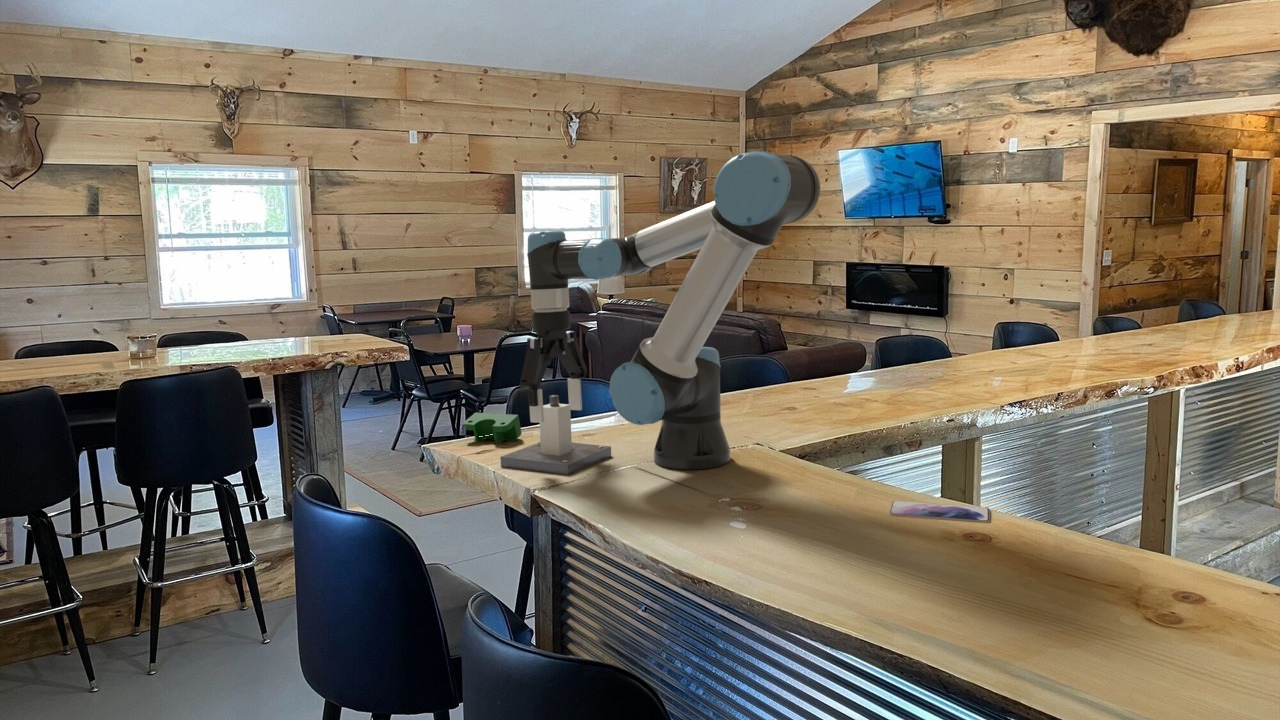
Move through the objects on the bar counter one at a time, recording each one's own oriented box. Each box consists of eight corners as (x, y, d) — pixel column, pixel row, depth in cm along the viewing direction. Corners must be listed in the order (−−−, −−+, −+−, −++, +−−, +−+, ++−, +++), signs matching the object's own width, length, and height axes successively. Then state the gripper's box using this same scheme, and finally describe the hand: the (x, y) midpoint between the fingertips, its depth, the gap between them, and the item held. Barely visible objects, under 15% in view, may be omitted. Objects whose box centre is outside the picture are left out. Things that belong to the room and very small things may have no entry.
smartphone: (990, 521, 141) (888, 513, 146) (990, 526, 141) (888, 518, 146) (989, 506, 147) (892, 500, 152) (989, 511, 147) (892, 504, 152)
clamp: (476, 460, 208) (456, 426, 206) (489, 448, 213) (469, 414, 211) (515, 444, 202) (495, 409, 200) (528, 432, 207) (508, 398, 206)
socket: (611, 456, 190) (610, 443, 190) (567, 474, 176) (567, 460, 176) (547, 449, 198) (546, 436, 197) (500, 466, 184) (500, 453, 184)
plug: (572, 457, 188) (569, 394, 186) (559, 462, 184) (557, 398, 182) (553, 455, 190) (551, 393, 188) (541, 460, 186) (538, 397, 184)
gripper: (569, 305, 195) (575, 404, 198) (496, 315, 174) (503, 426, 176) (600, 304, 192) (605, 405, 194) (528, 315, 170) (535, 428, 173)
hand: (557, 416), depth 185 cm, fingers open, 13 cm apart
